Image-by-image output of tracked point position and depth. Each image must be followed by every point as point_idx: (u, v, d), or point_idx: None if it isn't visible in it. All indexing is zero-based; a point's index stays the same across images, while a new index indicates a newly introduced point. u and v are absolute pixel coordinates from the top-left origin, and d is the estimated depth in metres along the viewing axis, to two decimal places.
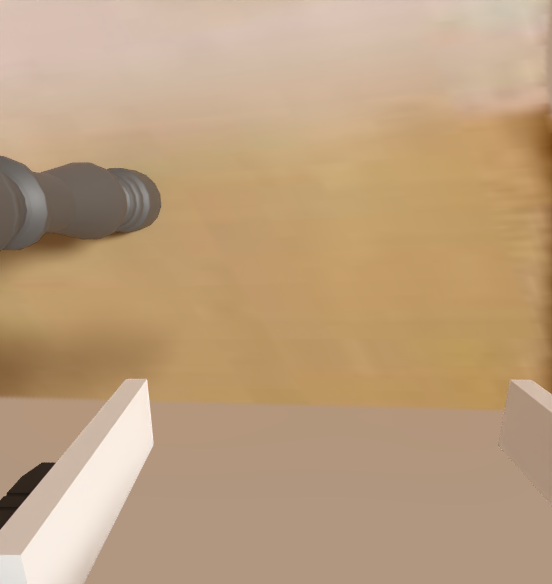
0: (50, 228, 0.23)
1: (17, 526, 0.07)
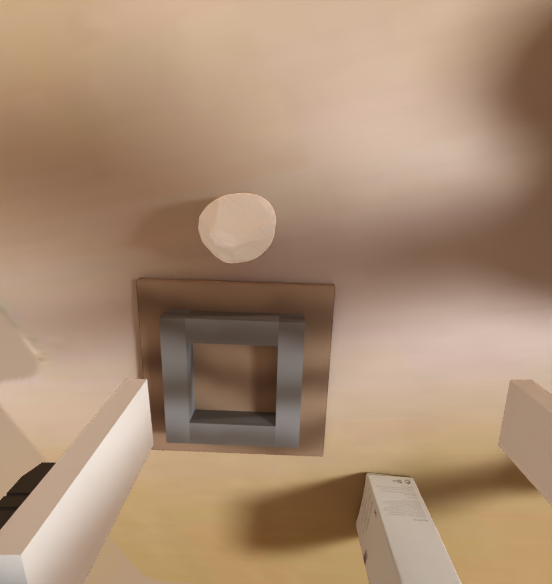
0: None
1: (17, 526, 0.07)
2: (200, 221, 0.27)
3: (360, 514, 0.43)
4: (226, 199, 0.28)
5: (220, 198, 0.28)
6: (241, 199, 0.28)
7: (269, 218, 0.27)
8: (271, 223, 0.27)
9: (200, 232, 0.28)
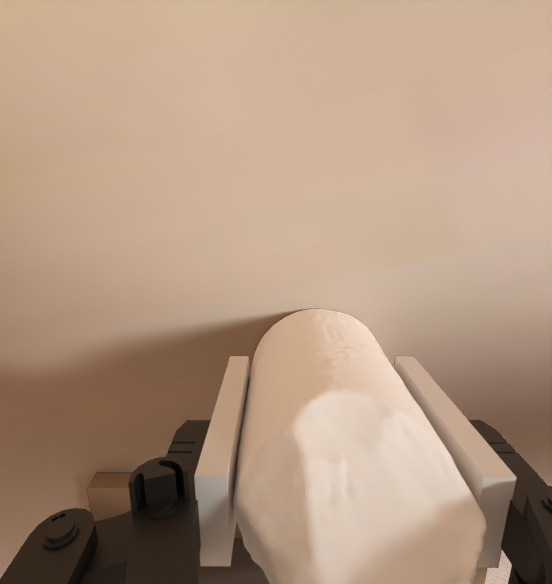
0: None
1: (210, 458, 0.09)
2: (244, 519, 0.08)
3: None
4: (320, 422, 0.09)
5: (301, 421, 0.09)
6: (362, 414, 0.09)
7: (470, 497, 0.08)
8: (485, 523, 0.08)
9: (241, 527, 0.09)
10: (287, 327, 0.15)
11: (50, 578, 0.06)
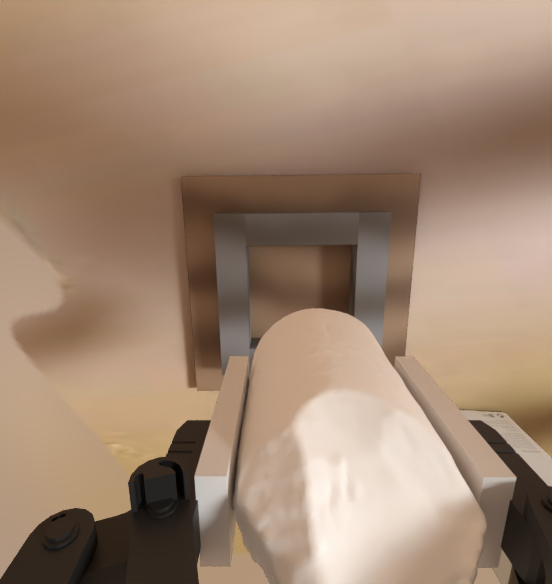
0: None
1: (210, 458, 0.09)
2: (244, 518, 0.08)
3: None
4: (320, 421, 0.09)
5: (301, 420, 0.09)
6: (362, 413, 0.09)
7: (470, 496, 0.08)
8: (485, 523, 0.08)
9: (241, 527, 0.09)
10: (287, 326, 0.15)
11: (50, 578, 0.06)
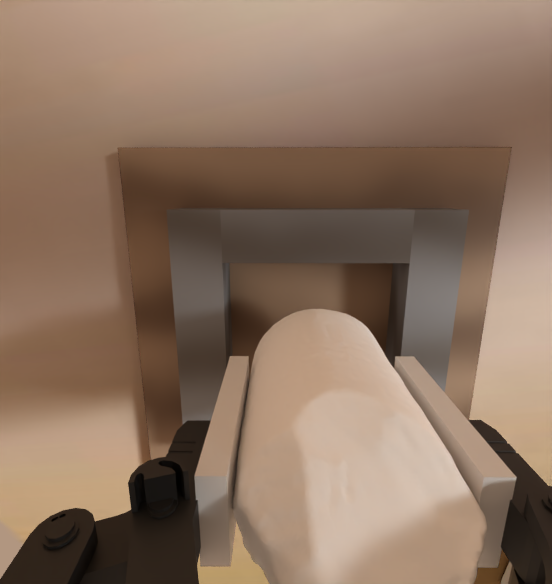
0: None
1: (210, 458, 0.09)
2: (244, 519, 0.08)
3: None
4: (320, 422, 0.09)
5: (301, 421, 0.09)
6: (362, 414, 0.09)
7: (470, 497, 0.08)
8: (485, 523, 0.08)
9: (241, 527, 0.09)
10: (287, 327, 0.15)
11: (50, 578, 0.06)
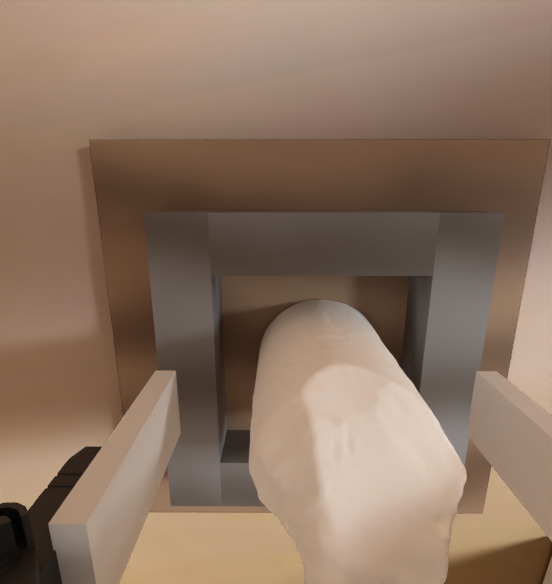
0: None
1: (78, 500, 0.08)
2: (261, 471, 0.09)
3: None
4: (325, 390, 0.10)
5: (308, 390, 0.10)
6: (361, 384, 0.10)
7: (453, 452, 0.10)
8: (465, 473, 0.09)
9: (256, 482, 0.10)
10: (292, 315, 0.16)
11: None
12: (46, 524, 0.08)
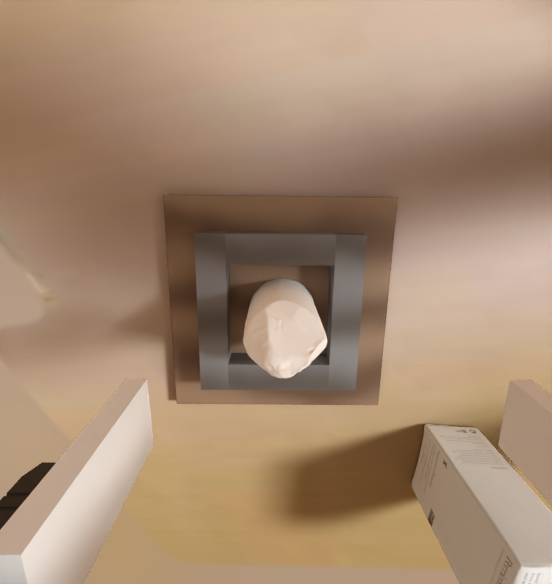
0: None
1: (17, 526, 0.07)
2: (247, 337, 0.25)
3: (418, 472, 0.38)
4: (274, 309, 0.25)
5: (267, 308, 0.25)
6: (289, 307, 0.26)
7: (322, 331, 0.25)
8: (325, 338, 0.24)
9: (246, 346, 0.25)
10: (266, 286, 0.31)
11: None
12: None
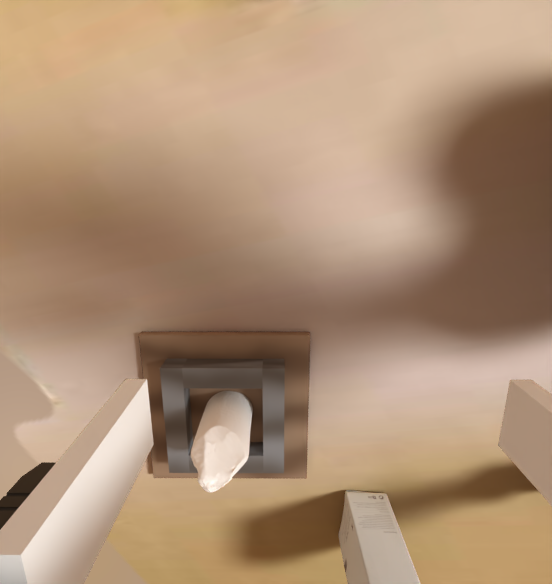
0: None
1: (17, 526, 0.07)
2: (192, 456, 0.36)
3: (342, 527, 0.49)
4: (211, 434, 0.37)
5: (206, 434, 0.37)
6: (222, 432, 0.37)
7: (243, 451, 0.36)
8: (245, 457, 0.36)
9: (192, 459, 0.37)
10: (215, 399, 0.42)
11: None
12: None
